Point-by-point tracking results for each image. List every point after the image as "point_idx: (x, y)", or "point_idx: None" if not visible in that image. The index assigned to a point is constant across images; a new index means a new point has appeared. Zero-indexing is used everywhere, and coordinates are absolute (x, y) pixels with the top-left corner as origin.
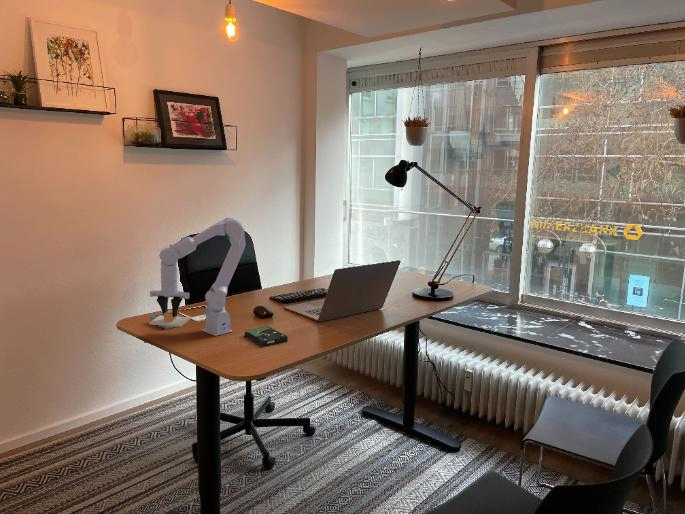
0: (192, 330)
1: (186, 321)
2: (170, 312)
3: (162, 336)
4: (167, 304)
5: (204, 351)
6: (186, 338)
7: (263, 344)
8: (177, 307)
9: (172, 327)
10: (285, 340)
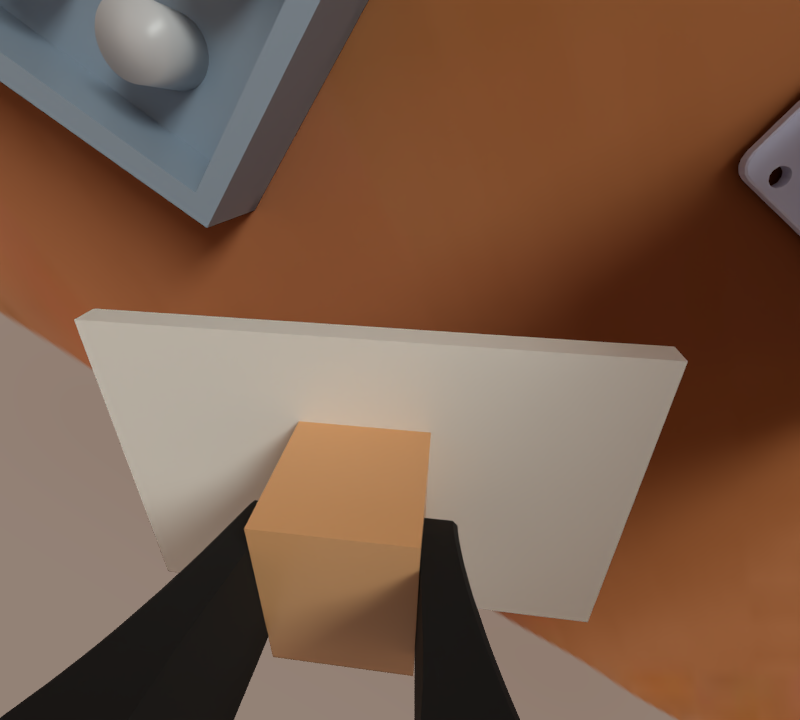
0: (597, 172)
1: (628, 505)
2: (345, 607)
3: None
4: (153, 699)
5: (790, 670)
6: None
7: None
8: (478, 697)
9: (294, 127)
10: None
